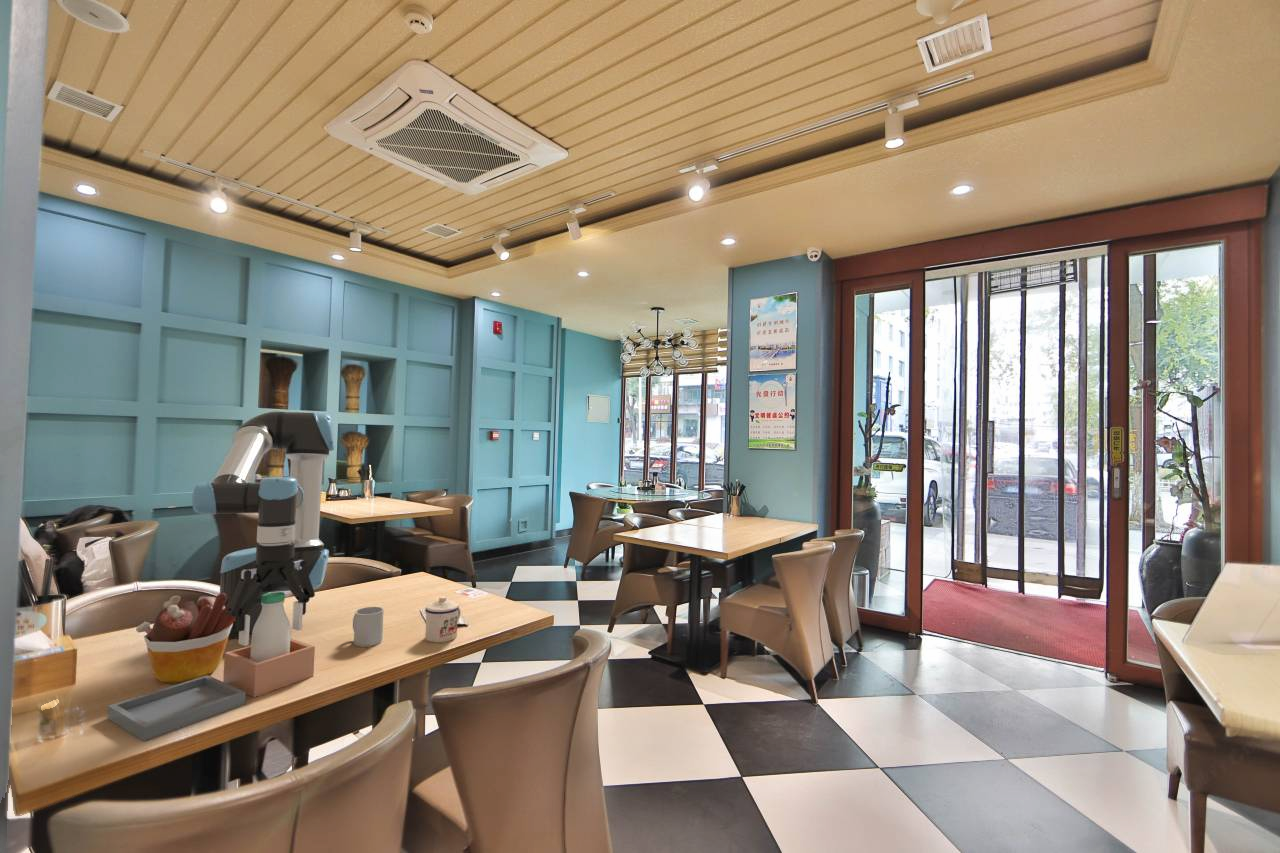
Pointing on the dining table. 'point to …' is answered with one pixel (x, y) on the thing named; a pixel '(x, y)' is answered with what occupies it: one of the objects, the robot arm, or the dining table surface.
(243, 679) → the deep holder
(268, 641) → the milk bottle
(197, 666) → the bucket of meat
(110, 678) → the dining table surface
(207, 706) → the tray
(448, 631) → the teacup with lid
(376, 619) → the cup
